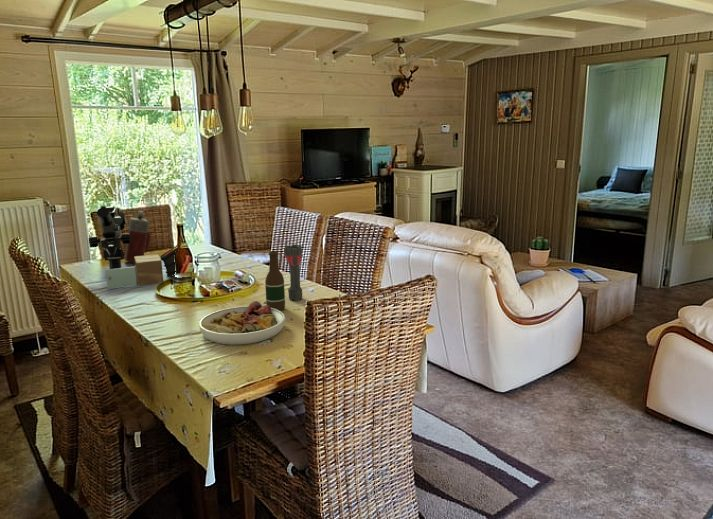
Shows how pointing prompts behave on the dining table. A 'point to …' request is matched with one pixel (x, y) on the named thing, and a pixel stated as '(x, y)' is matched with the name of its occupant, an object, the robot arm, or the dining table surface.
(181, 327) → the dining table surface
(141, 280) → the walnut box
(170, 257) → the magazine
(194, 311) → the dining table surface
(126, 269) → the door
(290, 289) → the flashlight
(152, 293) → the dining table surface
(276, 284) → the beer bottle
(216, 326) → the bowl
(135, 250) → the red grey bottle
